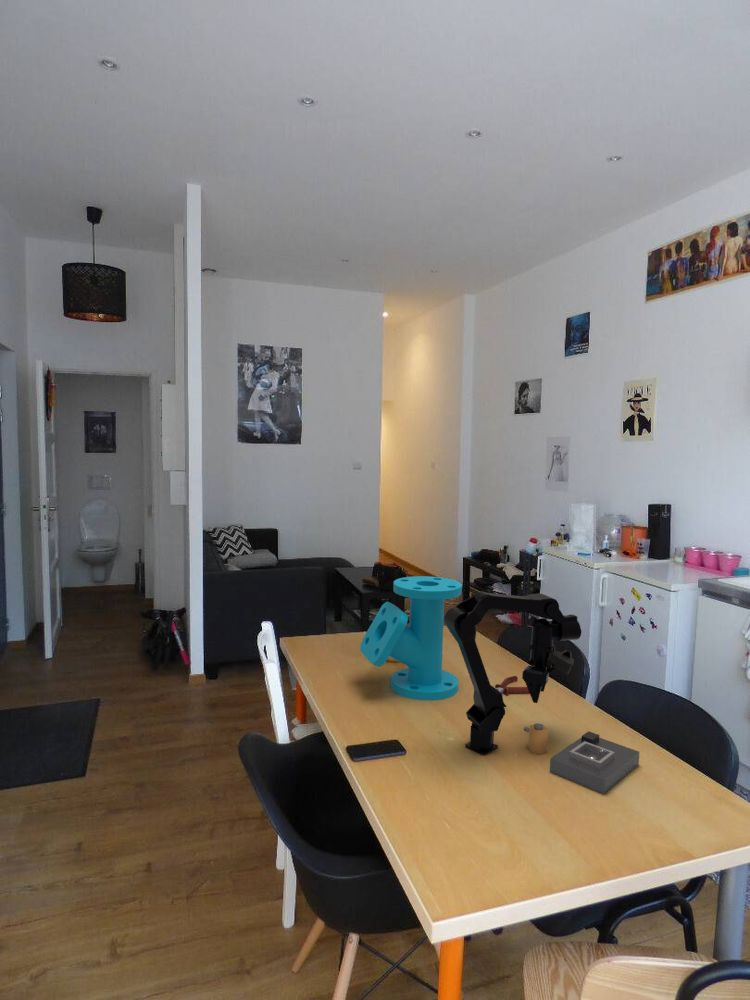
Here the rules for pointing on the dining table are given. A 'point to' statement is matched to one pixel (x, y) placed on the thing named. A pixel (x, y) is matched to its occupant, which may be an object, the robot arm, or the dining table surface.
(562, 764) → the sink basin plate
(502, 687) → the pliers
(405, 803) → the dining table surface
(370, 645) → the pipe fitting
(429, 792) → the dining table surface
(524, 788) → the dining table surface
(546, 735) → the cylinder
